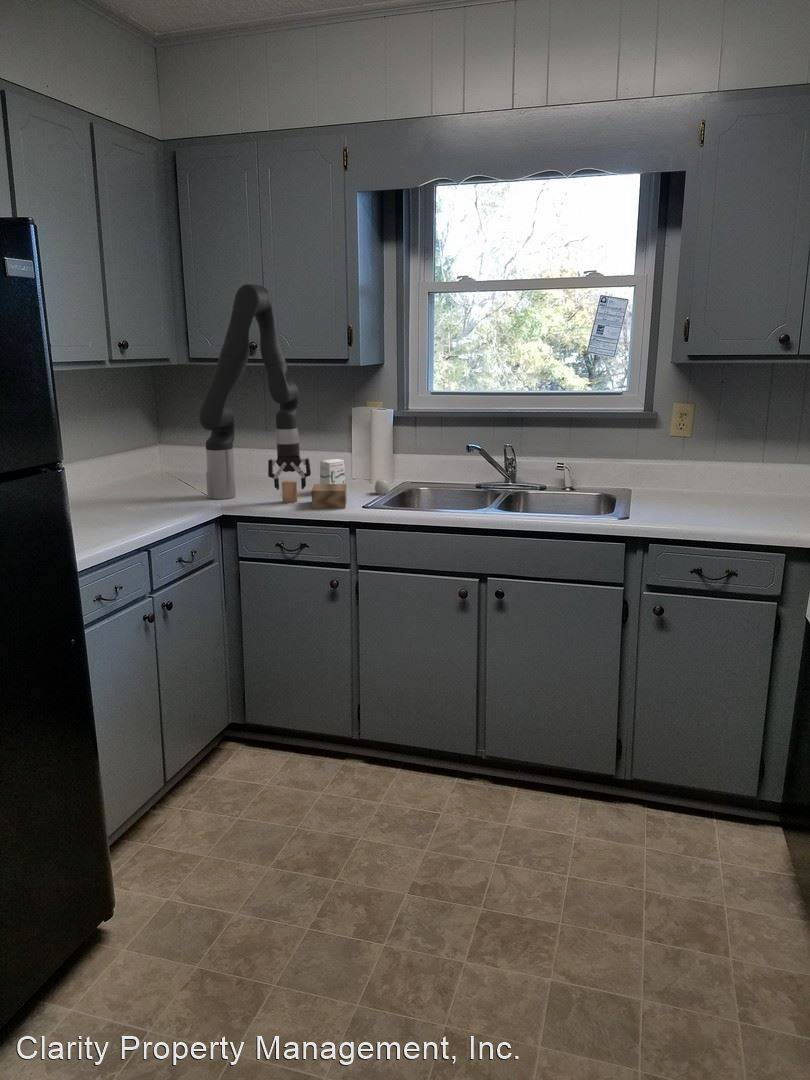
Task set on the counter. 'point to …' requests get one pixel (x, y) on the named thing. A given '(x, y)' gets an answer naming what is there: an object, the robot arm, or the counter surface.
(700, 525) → the counter surface
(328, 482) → the ink box
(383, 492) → the off-white ball
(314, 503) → the walnut pedestal
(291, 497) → the terracotta canister
